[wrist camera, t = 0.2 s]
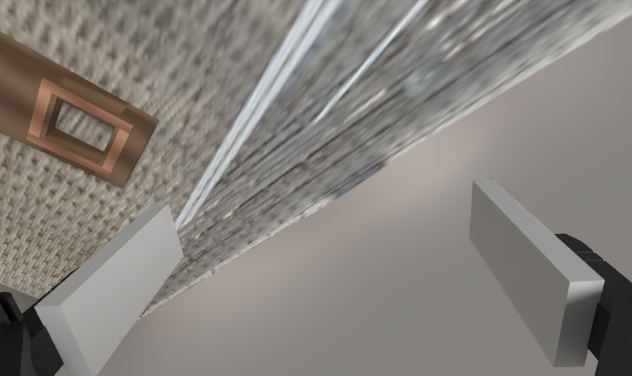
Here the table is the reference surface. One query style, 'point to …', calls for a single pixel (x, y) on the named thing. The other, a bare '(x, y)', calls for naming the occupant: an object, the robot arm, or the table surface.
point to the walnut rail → (44, 106)
